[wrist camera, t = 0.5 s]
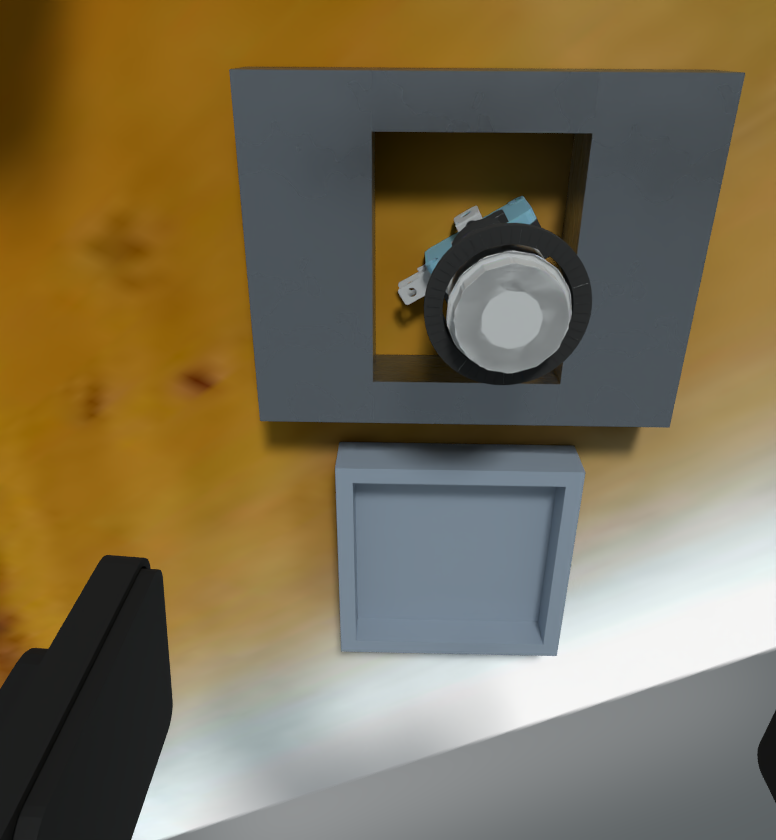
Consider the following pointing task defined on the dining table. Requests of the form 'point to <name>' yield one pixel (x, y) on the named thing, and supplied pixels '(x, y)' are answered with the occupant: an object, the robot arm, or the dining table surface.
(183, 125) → the dining table surface
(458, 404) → the block
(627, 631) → the dining table surface
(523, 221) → the push button
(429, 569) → the tray
